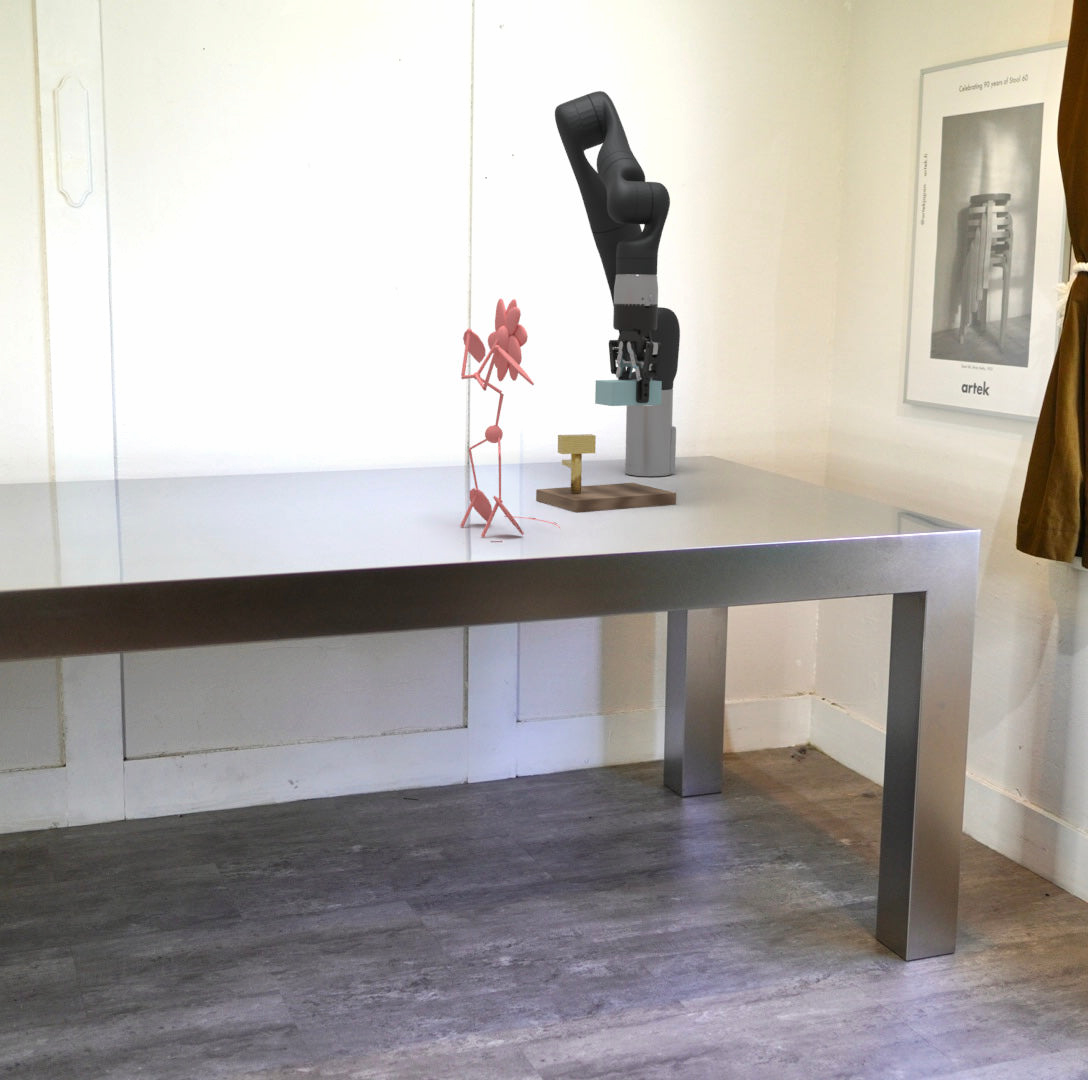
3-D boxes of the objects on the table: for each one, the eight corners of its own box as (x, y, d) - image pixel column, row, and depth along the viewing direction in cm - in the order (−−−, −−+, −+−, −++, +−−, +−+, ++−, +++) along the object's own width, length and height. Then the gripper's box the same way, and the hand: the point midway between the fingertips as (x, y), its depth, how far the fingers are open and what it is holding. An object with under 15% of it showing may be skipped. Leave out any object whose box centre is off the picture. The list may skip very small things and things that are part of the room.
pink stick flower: (497, 547, 191) (497, 299, 184) (438, 519, 214) (436, 297, 208) (594, 540, 197) (598, 299, 190) (526, 514, 220) (527, 298, 214)
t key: (549, 487, 234) (550, 432, 233) (582, 486, 236) (583, 431, 234) (561, 493, 228) (561, 436, 226) (594, 492, 229) (595, 435, 227)
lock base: (632, 493, 244) (632, 482, 243) (675, 504, 232) (676, 492, 231) (536, 500, 234) (536, 489, 234) (576, 512, 222) (576, 500, 222)
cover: (644, 402, 235) (645, 379, 234) (661, 404, 230) (661, 381, 230) (595, 403, 230) (595, 380, 230) (611, 406, 226) (611, 382, 225)
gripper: (595, 301, 232) (593, 399, 235) (639, 302, 220) (636, 405, 223) (632, 301, 236) (630, 398, 239) (677, 302, 223) (674, 404, 226)
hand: (633, 401), depth 231 cm, fingers closed on cover, 5 cm apart
